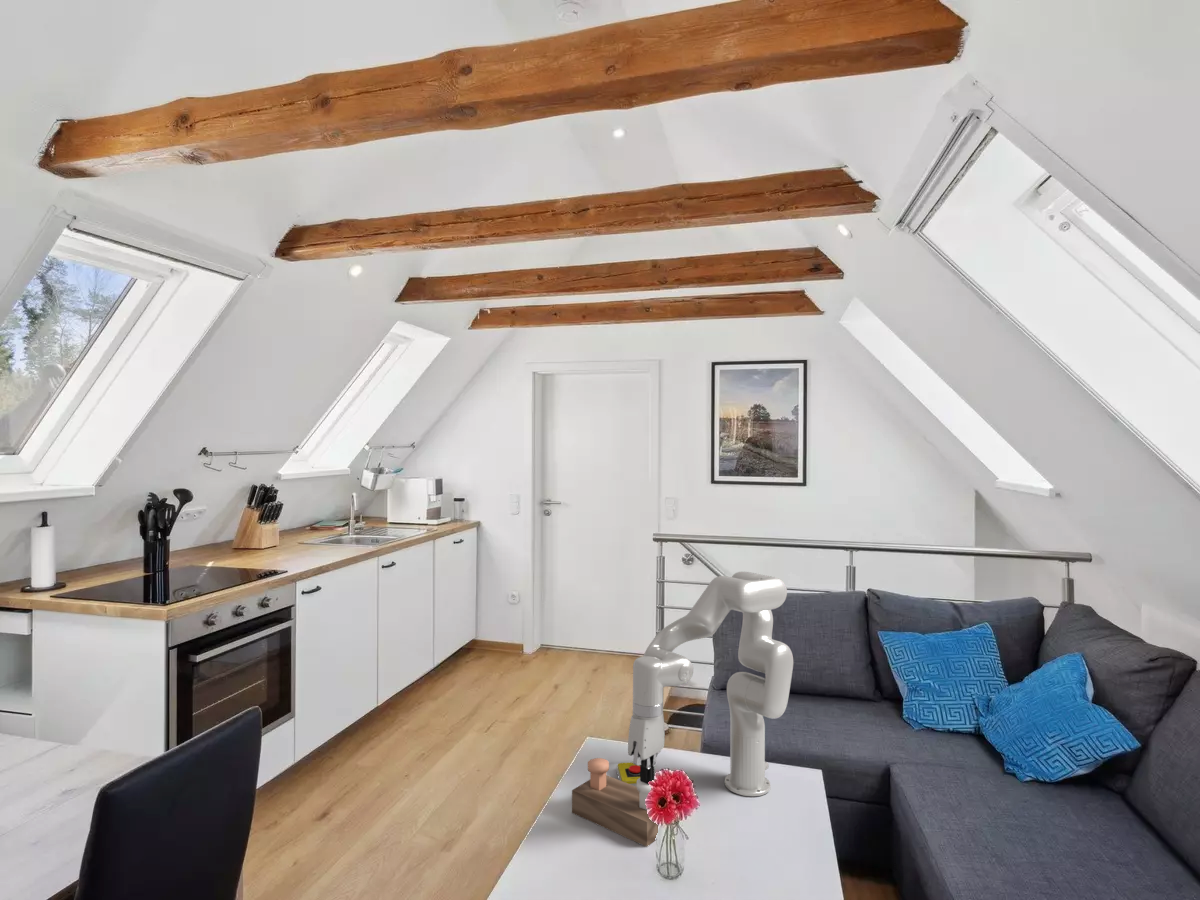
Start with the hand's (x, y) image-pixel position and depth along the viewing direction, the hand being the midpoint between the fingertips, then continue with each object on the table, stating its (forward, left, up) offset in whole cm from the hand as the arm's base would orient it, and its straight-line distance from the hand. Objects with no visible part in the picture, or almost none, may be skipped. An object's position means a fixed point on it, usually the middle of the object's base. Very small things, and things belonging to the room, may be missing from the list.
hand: (647, 781), depth 169 cm
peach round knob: (0, -16, -8) cm, 18 cm away
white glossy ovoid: (0, 0, -8) cm, 8 cm away
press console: (0, -8, -12) cm, 15 cm away
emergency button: (-19, -18, -13) cm, 29 cm away
